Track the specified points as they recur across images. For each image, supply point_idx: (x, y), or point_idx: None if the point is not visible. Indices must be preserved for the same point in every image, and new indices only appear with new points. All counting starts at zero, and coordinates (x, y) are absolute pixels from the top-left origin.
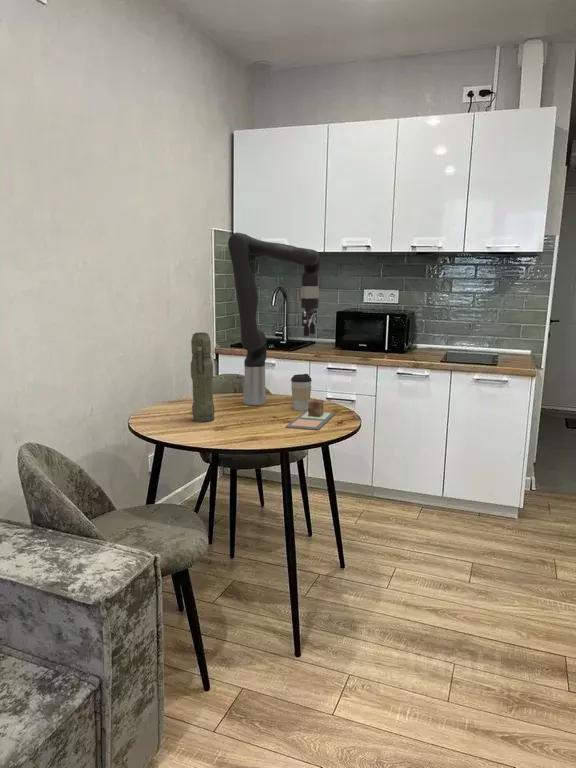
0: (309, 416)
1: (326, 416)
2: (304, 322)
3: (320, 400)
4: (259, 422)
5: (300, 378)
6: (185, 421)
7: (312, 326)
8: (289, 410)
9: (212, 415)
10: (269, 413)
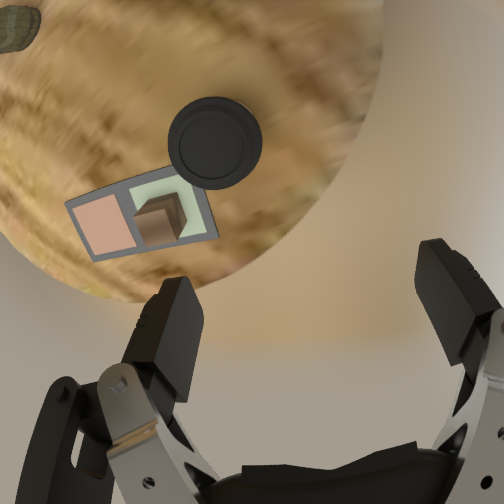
0: None
1: None
2: (115, 434)
3: (167, 237)
4: (58, 129)
5: (176, 163)
6: None
7: (456, 336)
8: None
9: (17, 48)
10: (130, 84)
